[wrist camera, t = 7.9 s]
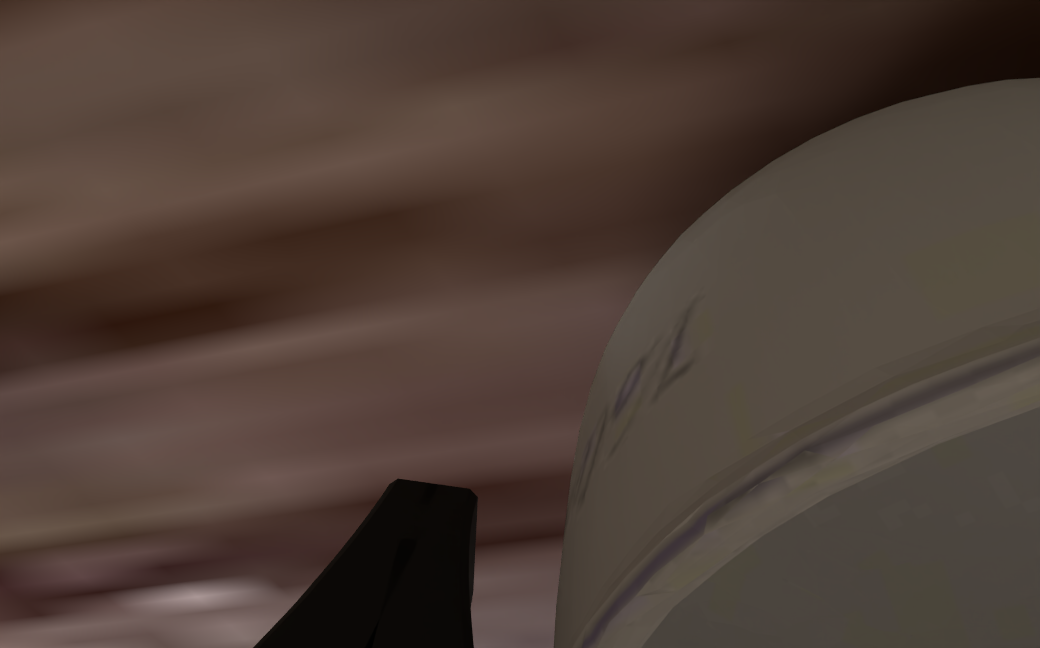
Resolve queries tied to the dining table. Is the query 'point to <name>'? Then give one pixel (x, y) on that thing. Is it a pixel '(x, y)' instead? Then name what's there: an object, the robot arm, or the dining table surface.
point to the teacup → (829, 403)
